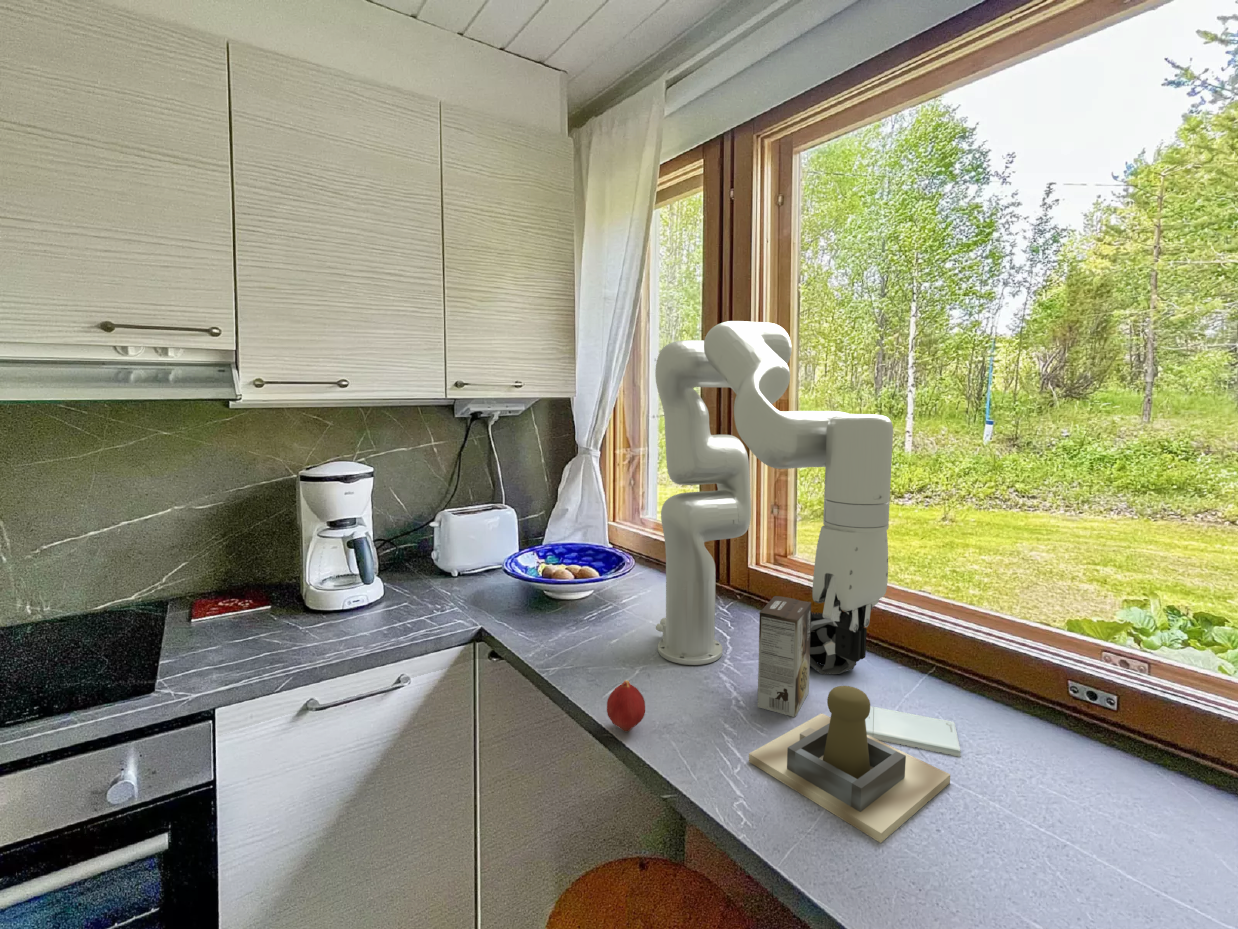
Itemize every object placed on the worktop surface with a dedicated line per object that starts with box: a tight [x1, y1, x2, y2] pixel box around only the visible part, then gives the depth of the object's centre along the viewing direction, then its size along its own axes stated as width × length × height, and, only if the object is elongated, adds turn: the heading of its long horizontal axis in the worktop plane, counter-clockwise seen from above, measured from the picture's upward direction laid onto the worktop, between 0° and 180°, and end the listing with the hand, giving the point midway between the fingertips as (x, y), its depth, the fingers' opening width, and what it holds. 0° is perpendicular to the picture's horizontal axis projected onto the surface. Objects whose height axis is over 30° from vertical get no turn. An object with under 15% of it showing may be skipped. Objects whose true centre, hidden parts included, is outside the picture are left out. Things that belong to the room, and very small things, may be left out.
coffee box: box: [757, 595, 812, 718], centre depth 98 cm, size 9×6×16 cm
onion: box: [606, 679, 646, 733], centre depth 89 cm, size 6×6×8 cm
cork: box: [823, 685, 871, 779], centre depth 77 cm, size 6×6×11 cm
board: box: [748, 713, 951, 844], centre depth 79 cm, size 19×17×4 cm
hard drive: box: [865, 705, 962, 758], centre depth 89 cm, size 2×8×12 cm
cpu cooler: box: [809, 611, 857, 675], centre depth 109 cm, size 10×6×10 cm, turn 76°
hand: (849, 656), depth 76 cm, fingers closed
